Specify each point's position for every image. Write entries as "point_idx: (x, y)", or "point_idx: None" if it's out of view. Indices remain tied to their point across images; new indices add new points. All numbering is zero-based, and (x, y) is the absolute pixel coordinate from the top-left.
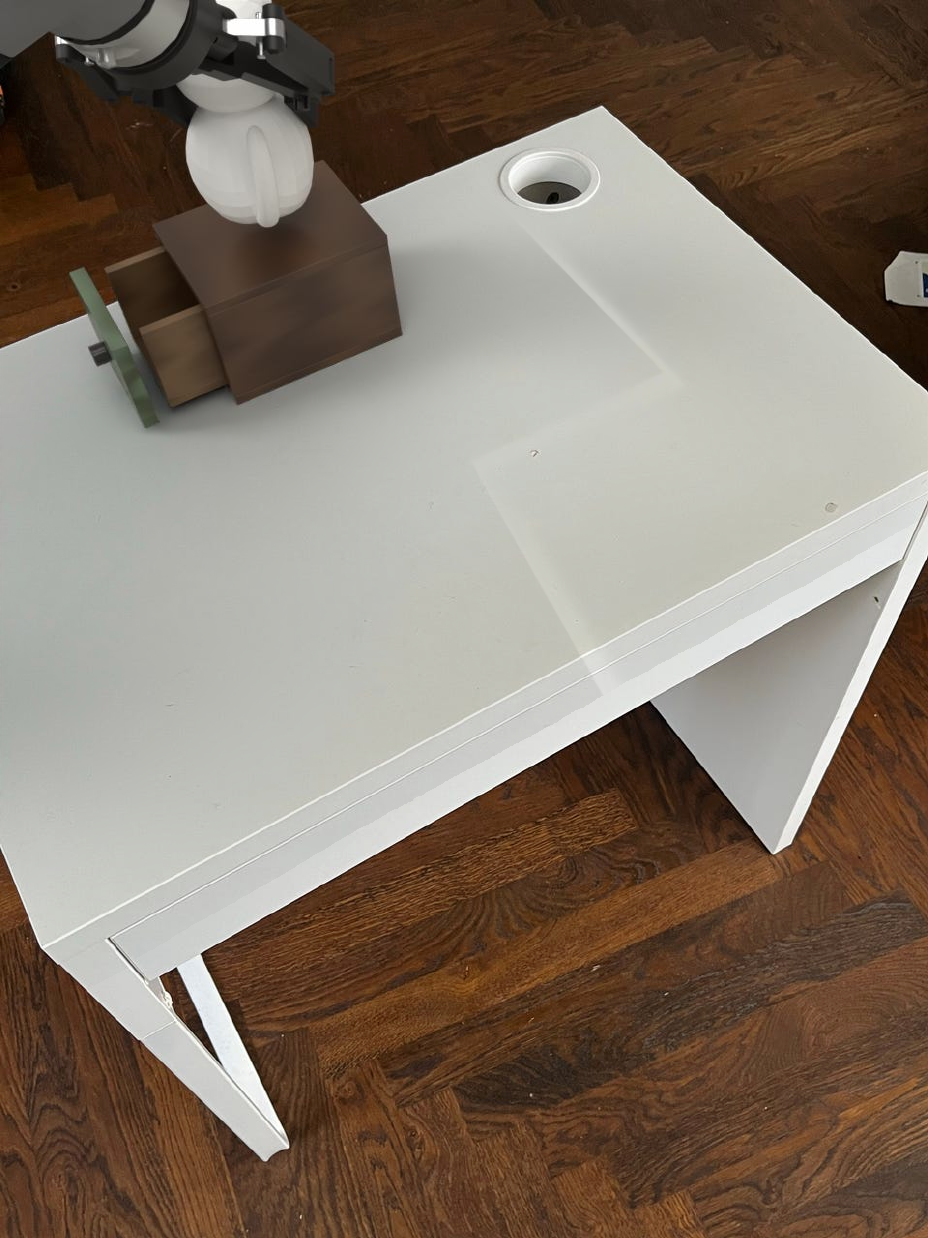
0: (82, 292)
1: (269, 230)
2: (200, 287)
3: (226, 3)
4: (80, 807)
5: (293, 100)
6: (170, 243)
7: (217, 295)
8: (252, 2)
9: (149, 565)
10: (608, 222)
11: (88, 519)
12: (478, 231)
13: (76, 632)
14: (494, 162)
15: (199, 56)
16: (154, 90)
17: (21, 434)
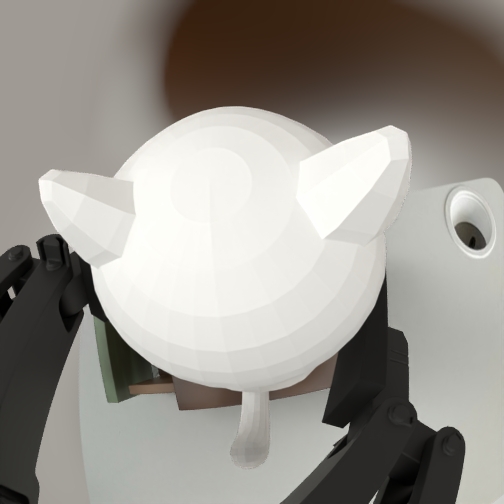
0: (95, 318)
1: None
2: (179, 381)
3: (234, 271)
4: None
5: (341, 426)
6: None
7: (192, 400)
8: (342, 240)
9: (144, 475)
10: (495, 281)
11: (114, 429)
12: (426, 258)
13: (111, 486)
14: (443, 187)
15: None
16: (88, 295)
17: (84, 342)
